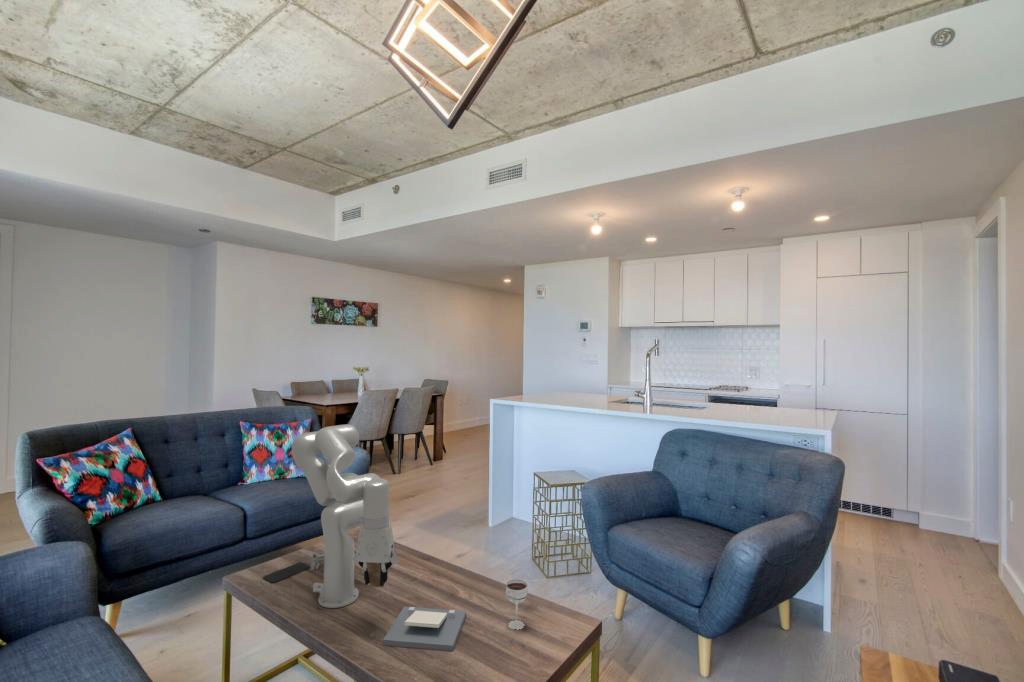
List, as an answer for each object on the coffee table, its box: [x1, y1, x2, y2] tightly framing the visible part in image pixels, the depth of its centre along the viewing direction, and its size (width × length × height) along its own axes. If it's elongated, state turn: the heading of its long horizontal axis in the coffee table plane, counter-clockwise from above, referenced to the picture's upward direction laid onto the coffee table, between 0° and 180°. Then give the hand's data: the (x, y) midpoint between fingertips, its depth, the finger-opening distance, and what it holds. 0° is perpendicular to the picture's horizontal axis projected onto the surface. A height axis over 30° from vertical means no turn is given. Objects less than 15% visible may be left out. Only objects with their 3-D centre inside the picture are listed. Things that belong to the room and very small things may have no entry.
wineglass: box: [505, 579, 529, 631], centre depth 143 cm, size 7×7×12 cm
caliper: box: [309, 553, 324, 572], centre depth 184 cm, size 20×1×6 cm, turn 151°
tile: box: [405, 611, 447, 628], centre depth 140 cm, size 10×10×1 cm
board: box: [382, 606, 467, 652], centre depth 140 cm, size 20×17×3 cm
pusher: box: [366, 563, 386, 588], centre depth 143 cm, size 4×4×10 cm
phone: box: [262, 561, 310, 584], centre depth 174 cm, size 7×1×15 cm
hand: (375, 582), depth 142 cm, fingers closed on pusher, 4 cm apart
